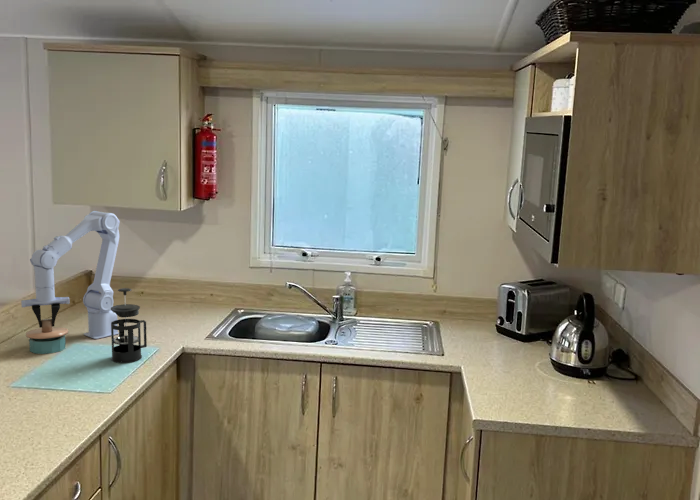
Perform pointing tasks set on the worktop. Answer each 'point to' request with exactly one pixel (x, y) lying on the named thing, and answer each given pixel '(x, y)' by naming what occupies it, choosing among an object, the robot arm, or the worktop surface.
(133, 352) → the french press
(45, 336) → the lid
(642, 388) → the worktop surface
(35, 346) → the bowl
